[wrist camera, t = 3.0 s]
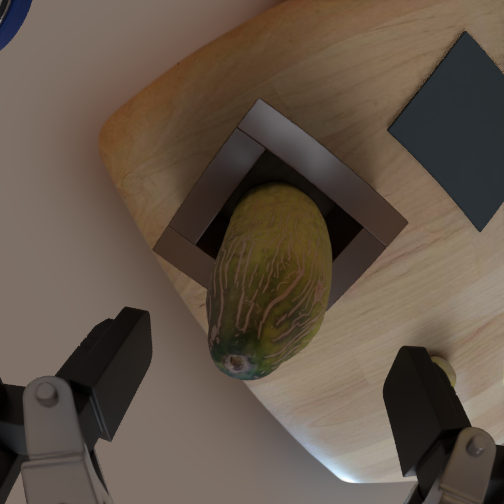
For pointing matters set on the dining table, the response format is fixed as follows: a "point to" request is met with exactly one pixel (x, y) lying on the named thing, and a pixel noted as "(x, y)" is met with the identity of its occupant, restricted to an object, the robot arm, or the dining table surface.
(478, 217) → the mat
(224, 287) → the vegetable
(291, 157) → the holder
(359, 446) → the dining table surface
